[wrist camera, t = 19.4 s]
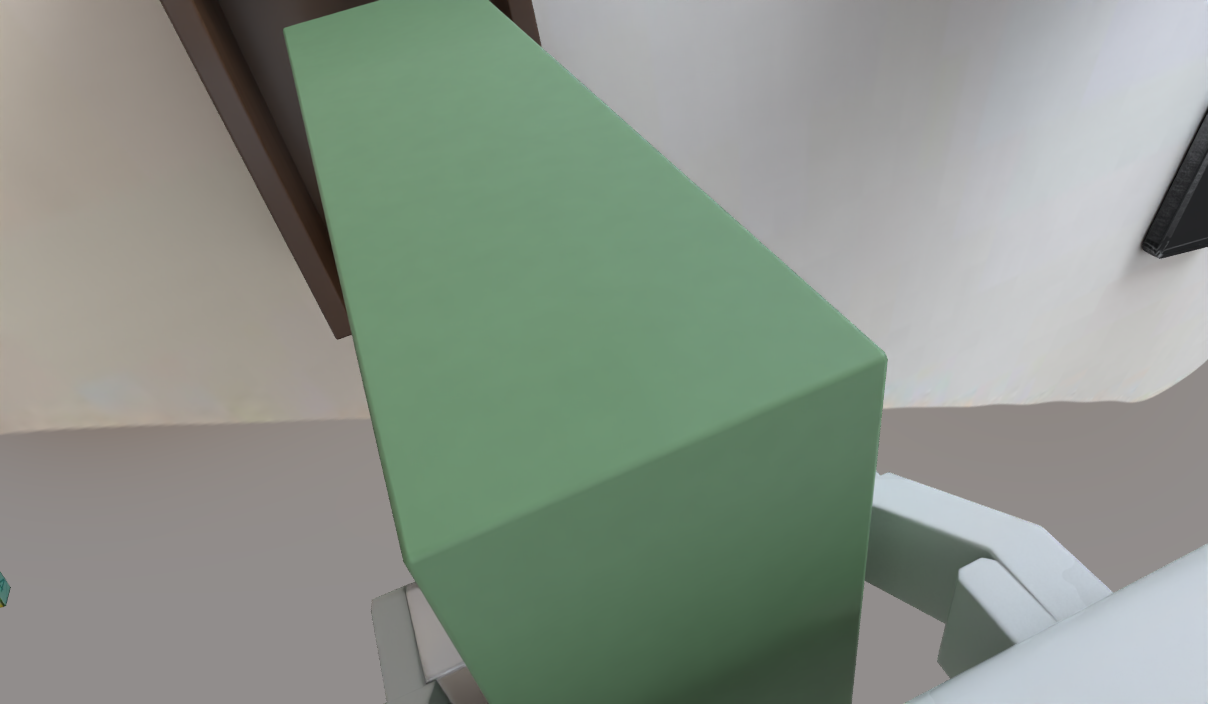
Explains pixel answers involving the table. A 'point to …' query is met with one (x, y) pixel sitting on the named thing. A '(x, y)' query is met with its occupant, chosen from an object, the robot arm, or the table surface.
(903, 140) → the table surface
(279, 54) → the box
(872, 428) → the tea packet
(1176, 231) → the phone
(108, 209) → the table surface
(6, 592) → the puzzle game
